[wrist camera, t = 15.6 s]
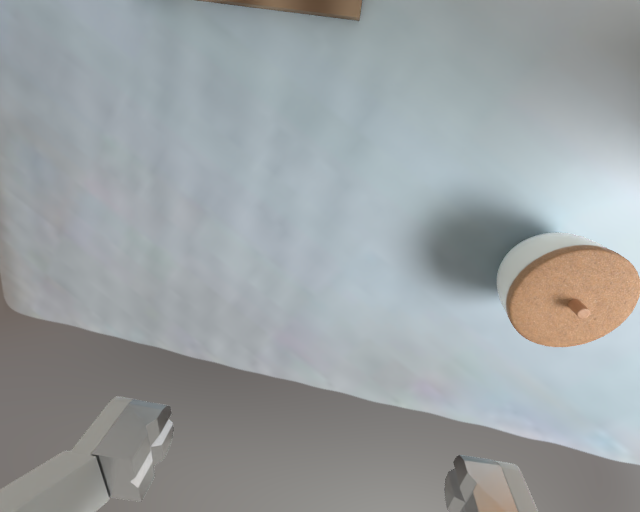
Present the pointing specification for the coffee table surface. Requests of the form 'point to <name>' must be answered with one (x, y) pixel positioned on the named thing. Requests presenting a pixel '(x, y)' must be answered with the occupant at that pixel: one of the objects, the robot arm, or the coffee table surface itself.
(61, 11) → the coffee table surface
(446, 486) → the robot arm
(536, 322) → the lidded jar
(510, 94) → the coffee table surface
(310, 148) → the coffee table surface
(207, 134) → the coffee table surface
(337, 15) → the post block
